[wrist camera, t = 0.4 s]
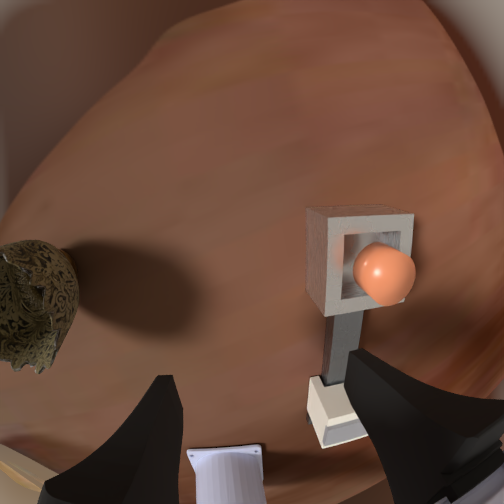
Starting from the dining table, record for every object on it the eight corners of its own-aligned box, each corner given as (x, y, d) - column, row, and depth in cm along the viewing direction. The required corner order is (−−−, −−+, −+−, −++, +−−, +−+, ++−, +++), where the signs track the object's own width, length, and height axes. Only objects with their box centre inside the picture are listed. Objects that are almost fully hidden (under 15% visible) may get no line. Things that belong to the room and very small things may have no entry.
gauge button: (392, 286, 16) (411, 301, 14) (350, 293, 16) (367, 310, 14) (396, 240, 15) (418, 250, 13) (354, 244, 15) (373, 255, 13)
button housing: (376, 282, 21) (403, 303, 17) (305, 292, 20) (324, 318, 17) (381, 204, 19) (414, 213, 15) (305, 207, 19) (328, 217, 15)
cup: (95, 215, 17) (29, 247, 9) (113, 313, 19) (73, 382, 12) (18, 225, 16) (-50, 256, 9) (39, 312, 18) (-11, 366, 11)
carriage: (350, 398, 25) (372, 437, 19) (306, 408, 24) (323, 452, 19) (357, 367, 23) (384, 407, 18) (309, 377, 23) (329, 423, 18)
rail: (346, 409, 25) (351, 419, 24) (306, 418, 25) (310, 429, 23) (367, 285, 21) (376, 292, 20) (315, 292, 21) (322, 301, 19)
